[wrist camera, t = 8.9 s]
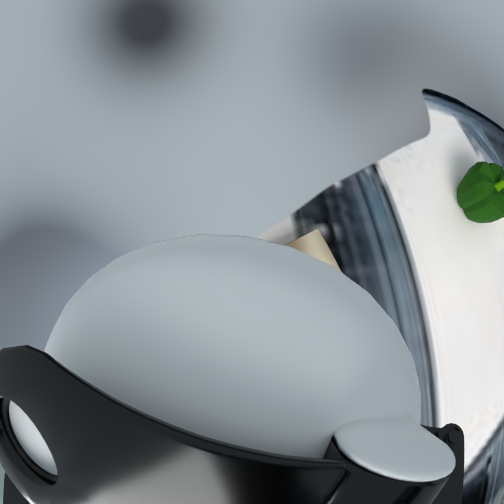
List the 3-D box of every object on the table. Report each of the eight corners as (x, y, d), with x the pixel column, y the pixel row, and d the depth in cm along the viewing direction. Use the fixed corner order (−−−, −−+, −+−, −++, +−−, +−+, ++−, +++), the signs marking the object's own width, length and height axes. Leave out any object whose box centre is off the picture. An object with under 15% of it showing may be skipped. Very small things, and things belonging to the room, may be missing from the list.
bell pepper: (456, 230, 32) (499, 210, 22) (444, 176, 34) (481, 146, 24) (490, 229, 32) (531, 212, 22) (479, 180, 33) (515, 156, 24)
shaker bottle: (207, 275, 23) (-12, 156, 3) (318, 296, 22) (552, 254, 2) (187, 380, 21) (7, 532, 1) (295, 401, 20) (363, 622, 1)
